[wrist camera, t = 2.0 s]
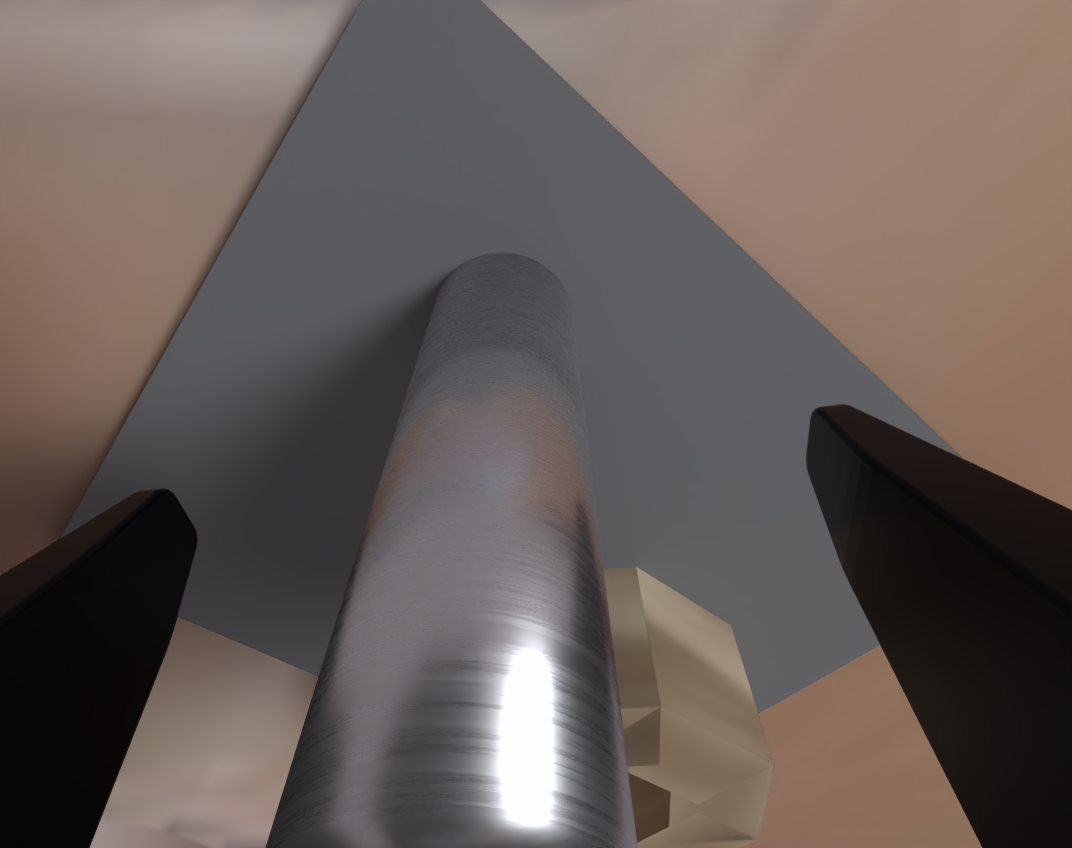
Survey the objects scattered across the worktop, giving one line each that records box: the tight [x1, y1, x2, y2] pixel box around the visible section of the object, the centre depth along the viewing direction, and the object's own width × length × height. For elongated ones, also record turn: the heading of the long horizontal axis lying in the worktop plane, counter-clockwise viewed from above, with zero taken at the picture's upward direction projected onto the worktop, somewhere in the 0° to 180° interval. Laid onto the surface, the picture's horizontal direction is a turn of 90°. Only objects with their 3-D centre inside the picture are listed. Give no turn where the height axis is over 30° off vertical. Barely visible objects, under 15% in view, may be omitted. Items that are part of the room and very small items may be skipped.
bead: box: [604, 567, 774, 848], centre depth 18 cm, size 9×9×4 cm
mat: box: [61, 0, 962, 713], centre depth 17 cm, size 20×17×1 cm
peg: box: [266, 252, 638, 848], centre depth 9 cm, size 3×3×10 cm
